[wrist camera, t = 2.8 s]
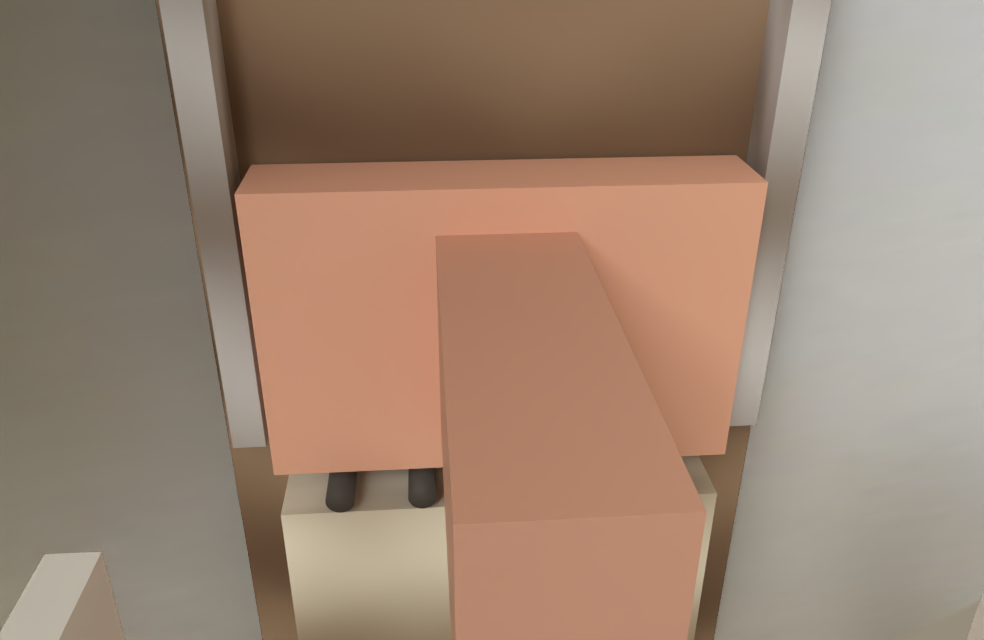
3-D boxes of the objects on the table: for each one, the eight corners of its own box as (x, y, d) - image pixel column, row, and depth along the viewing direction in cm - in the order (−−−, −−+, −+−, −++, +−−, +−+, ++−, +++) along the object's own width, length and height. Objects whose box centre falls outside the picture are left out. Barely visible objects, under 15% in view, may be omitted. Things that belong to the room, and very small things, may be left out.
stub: (250, 164, 19) (77, 471, 9) (736, 154, 20) (1053, 426, 10) (285, 427, 22) (183, 860, 12) (700, 409, 23) (913, 803, 13)
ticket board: (150, -155, 17) (89, -163, 14) (818, -149, 18) (906, -155, 15) (281, 671, 28) (263, 774, 25) (692, 645, 29) (727, 741, 26)
